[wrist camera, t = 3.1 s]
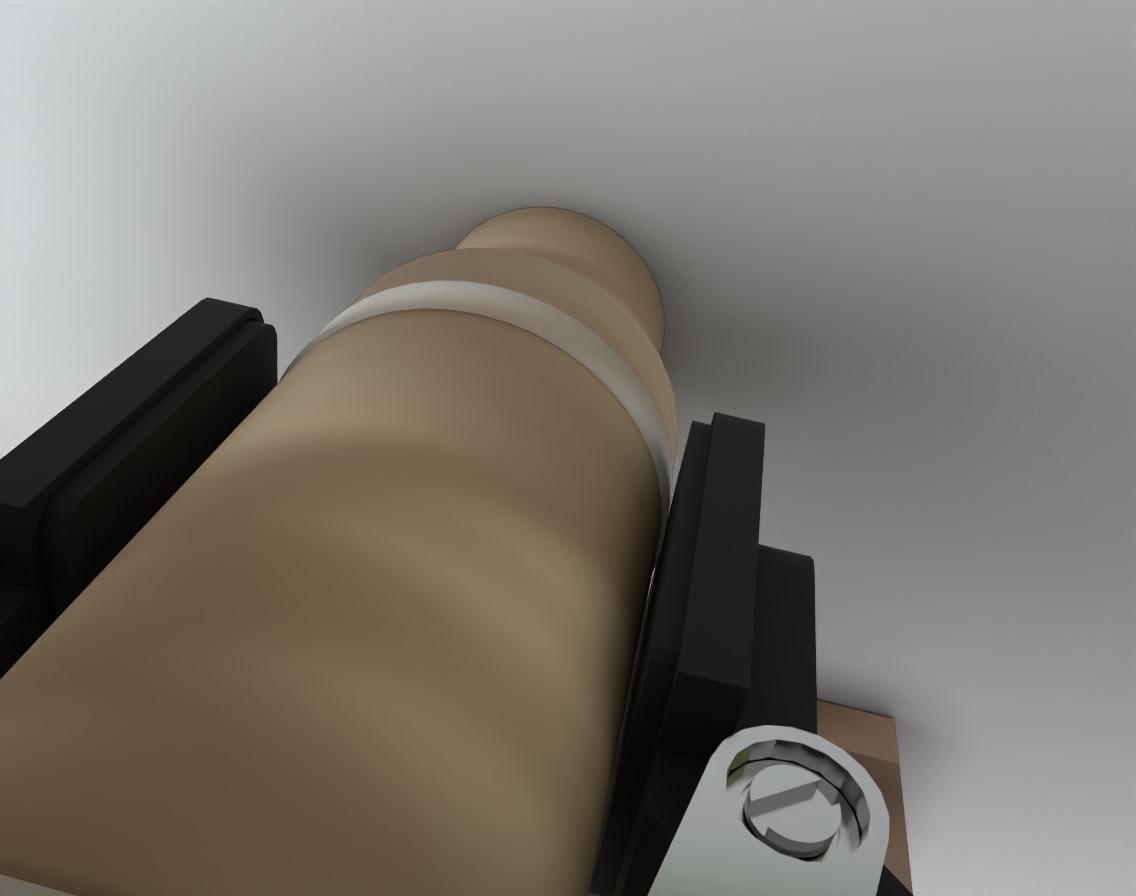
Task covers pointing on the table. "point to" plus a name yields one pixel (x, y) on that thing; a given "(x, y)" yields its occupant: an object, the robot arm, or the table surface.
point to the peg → (375, 605)
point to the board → (872, 769)
